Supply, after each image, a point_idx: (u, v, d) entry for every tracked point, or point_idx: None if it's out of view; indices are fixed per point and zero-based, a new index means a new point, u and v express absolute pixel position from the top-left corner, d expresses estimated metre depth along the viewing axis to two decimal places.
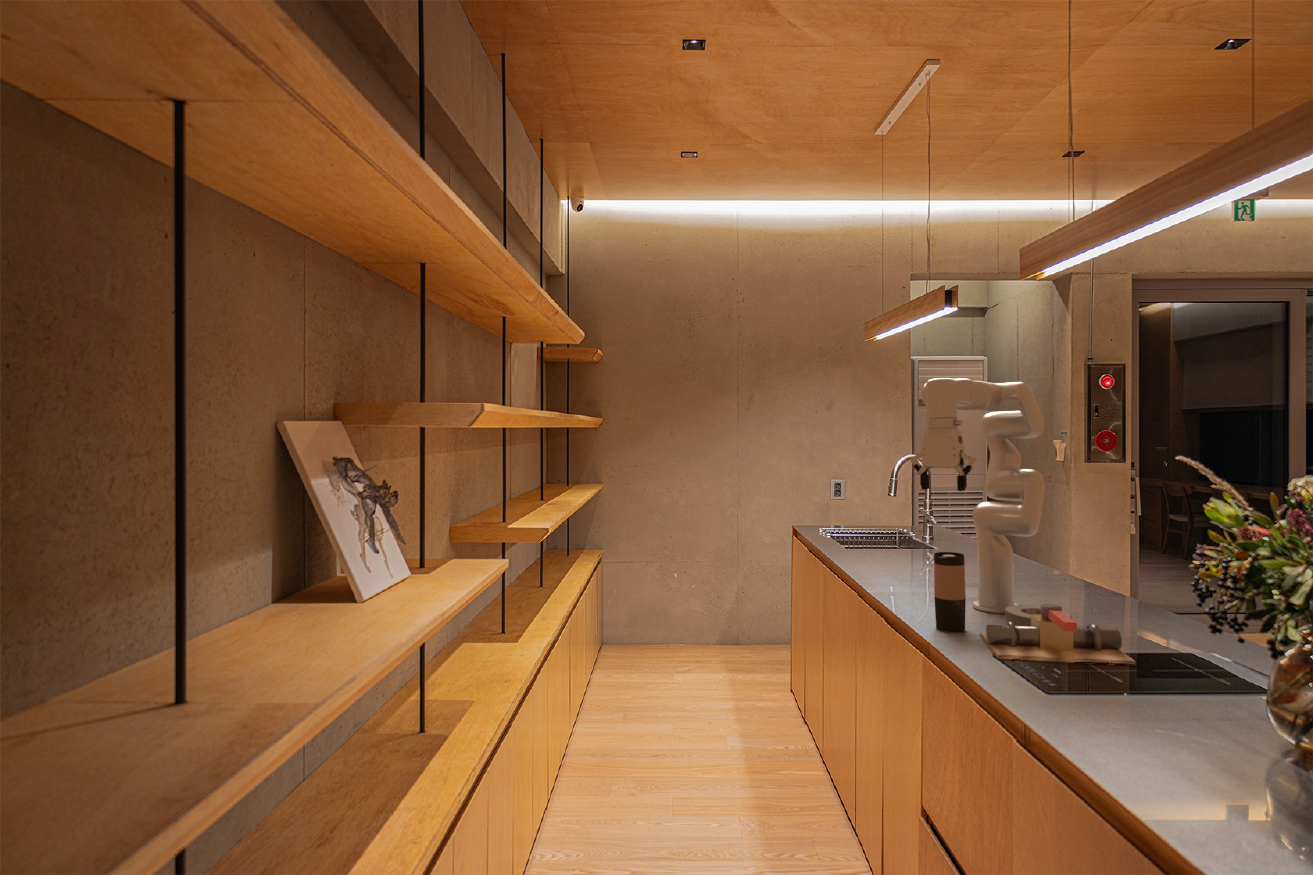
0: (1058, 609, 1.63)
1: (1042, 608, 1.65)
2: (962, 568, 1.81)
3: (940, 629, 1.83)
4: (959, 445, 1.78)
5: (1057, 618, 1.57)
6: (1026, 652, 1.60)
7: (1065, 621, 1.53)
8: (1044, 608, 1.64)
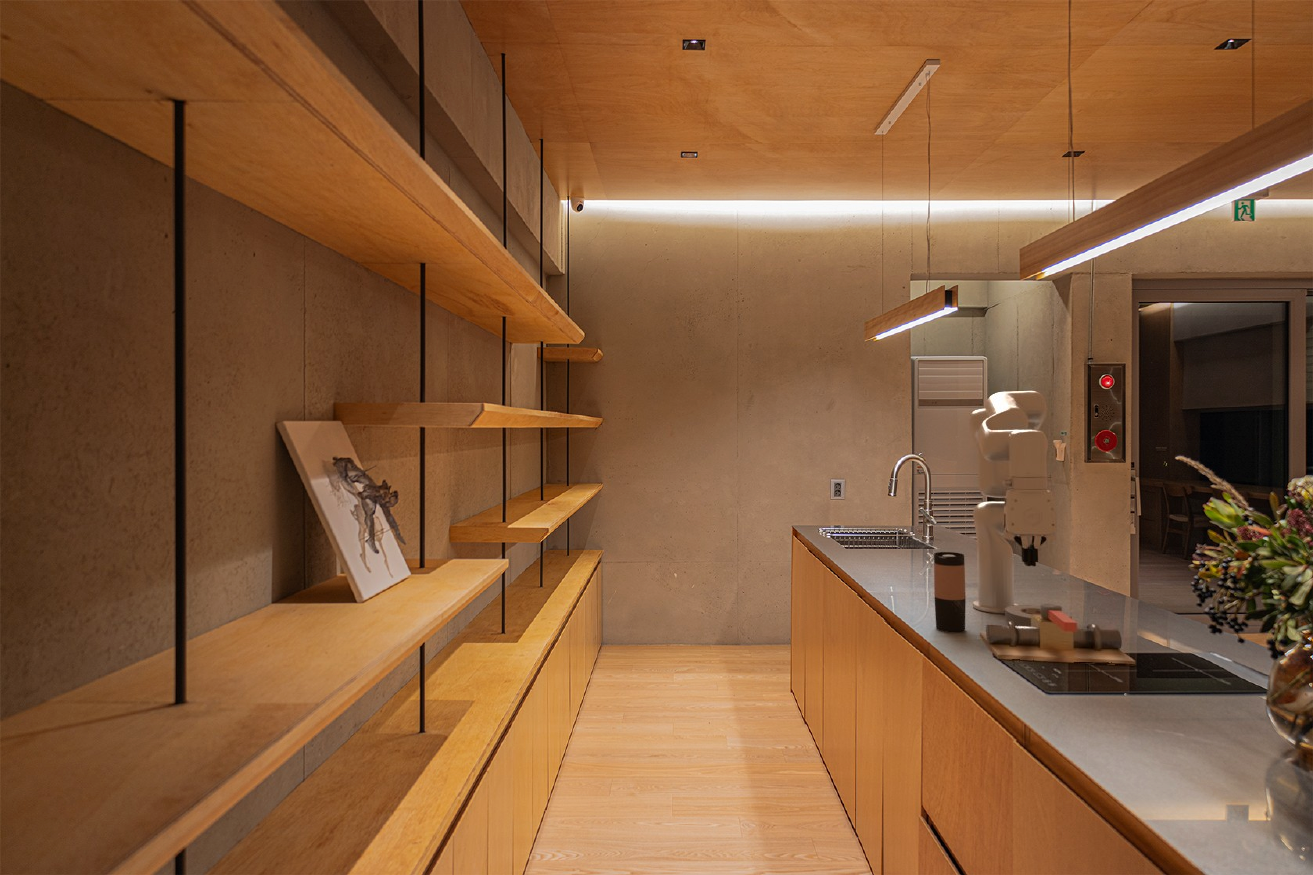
0: (1058, 609, 1.63)
1: (1042, 608, 1.65)
2: (962, 568, 1.81)
3: (940, 629, 1.83)
4: (1004, 507, 1.59)
5: (1057, 618, 1.57)
6: (1026, 652, 1.60)
7: (1065, 621, 1.53)
8: (1044, 608, 1.64)
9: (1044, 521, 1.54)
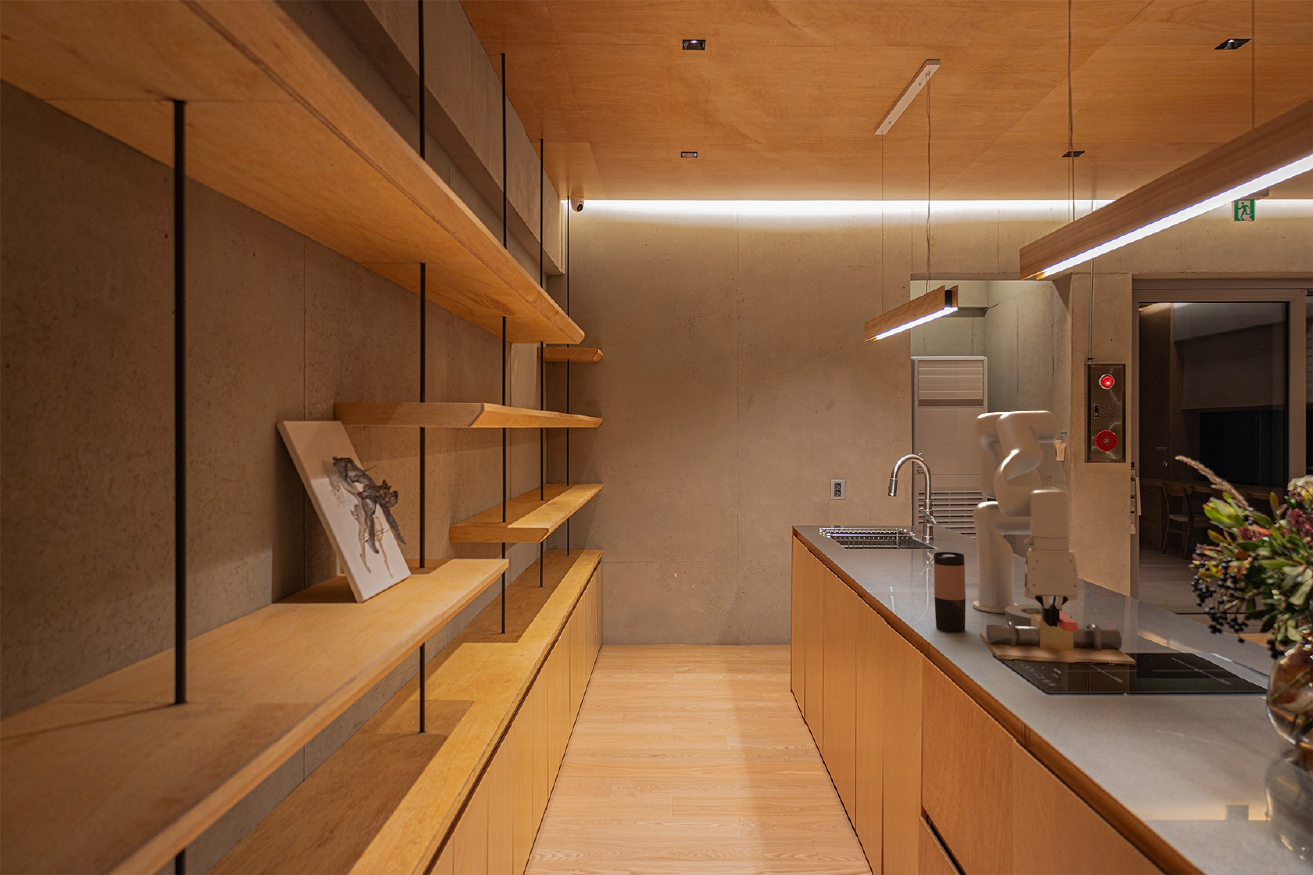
0: None
1: (1042, 608, 1.65)
2: (962, 568, 1.81)
3: (940, 629, 1.83)
4: (1025, 566, 1.58)
5: None
6: (1026, 652, 1.60)
7: (1065, 621, 1.53)
8: None
9: (1066, 582, 1.53)
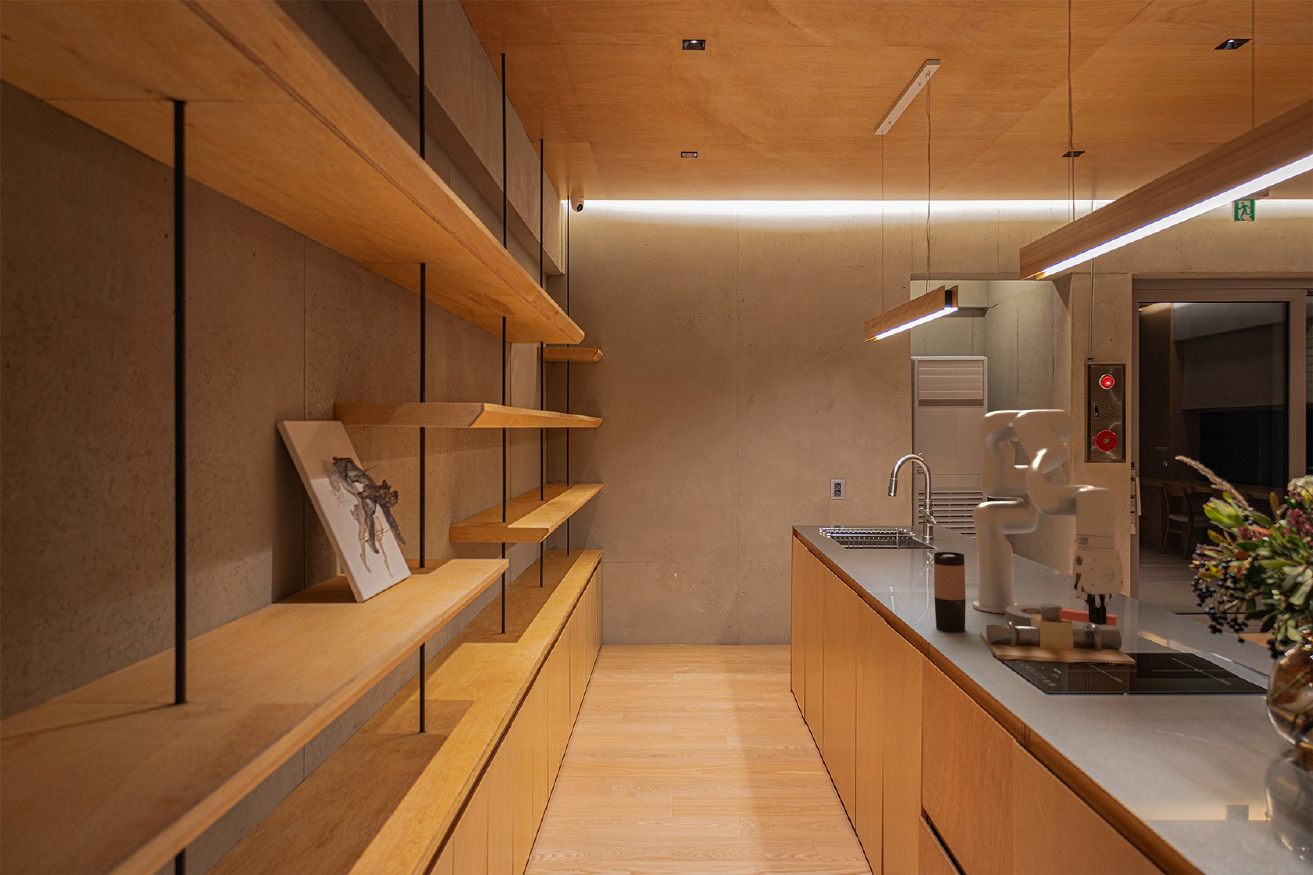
0: None
1: (1052, 610, 1.63)
2: (962, 568, 1.81)
3: (940, 629, 1.83)
4: (1076, 566, 1.56)
5: None
6: (1026, 652, 1.60)
7: (1111, 616, 1.56)
8: (1055, 609, 1.63)
9: (1116, 579, 1.54)
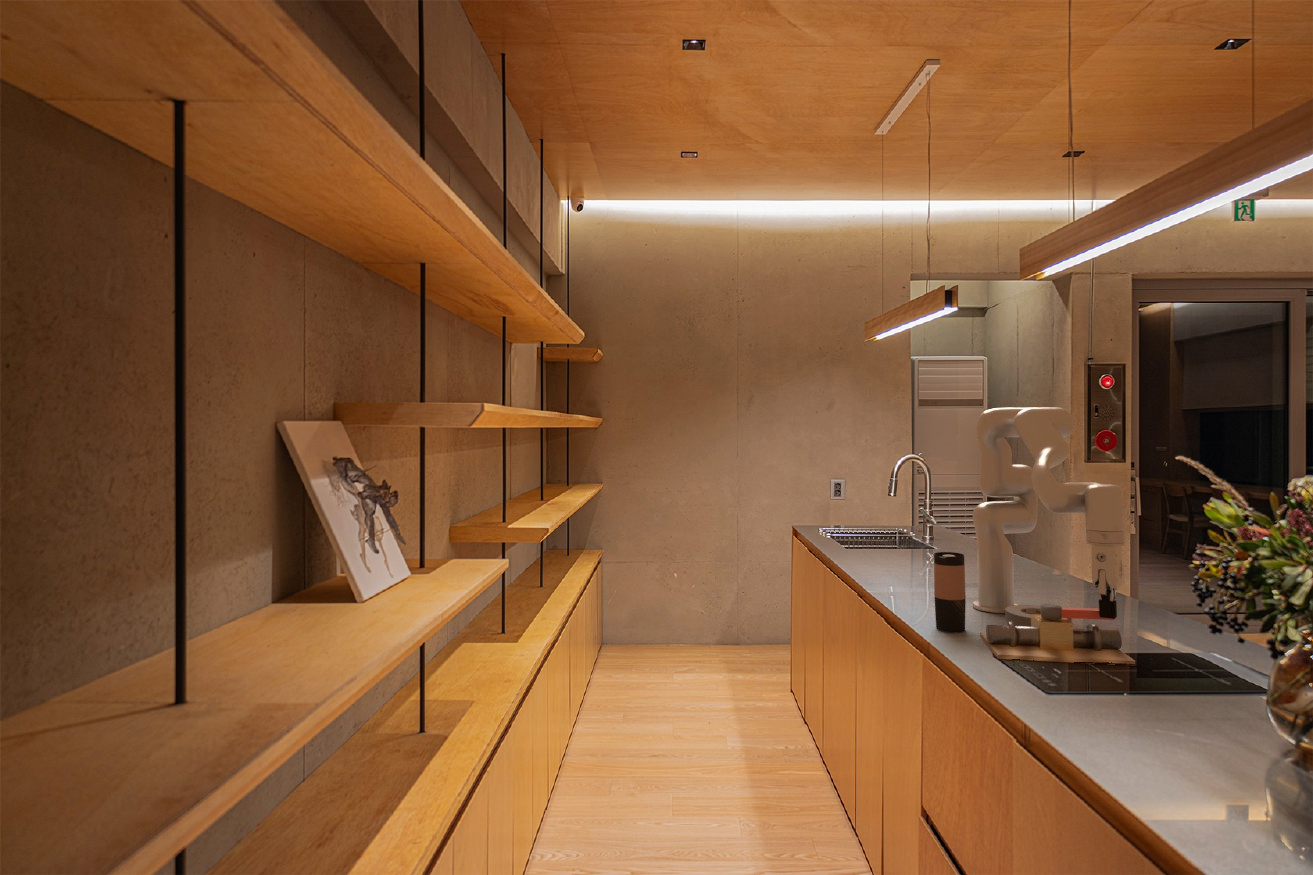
0: None
1: (1057, 610, 1.63)
2: (962, 568, 1.81)
3: (940, 629, 1.83)
4: (1097, 563, 1.57)
5: (1092, 612, 1.62)
6: (1026, 652, 1.60)
7: None
8: (1059, 609, 1.63)
9: (1122, 572, 1.60)
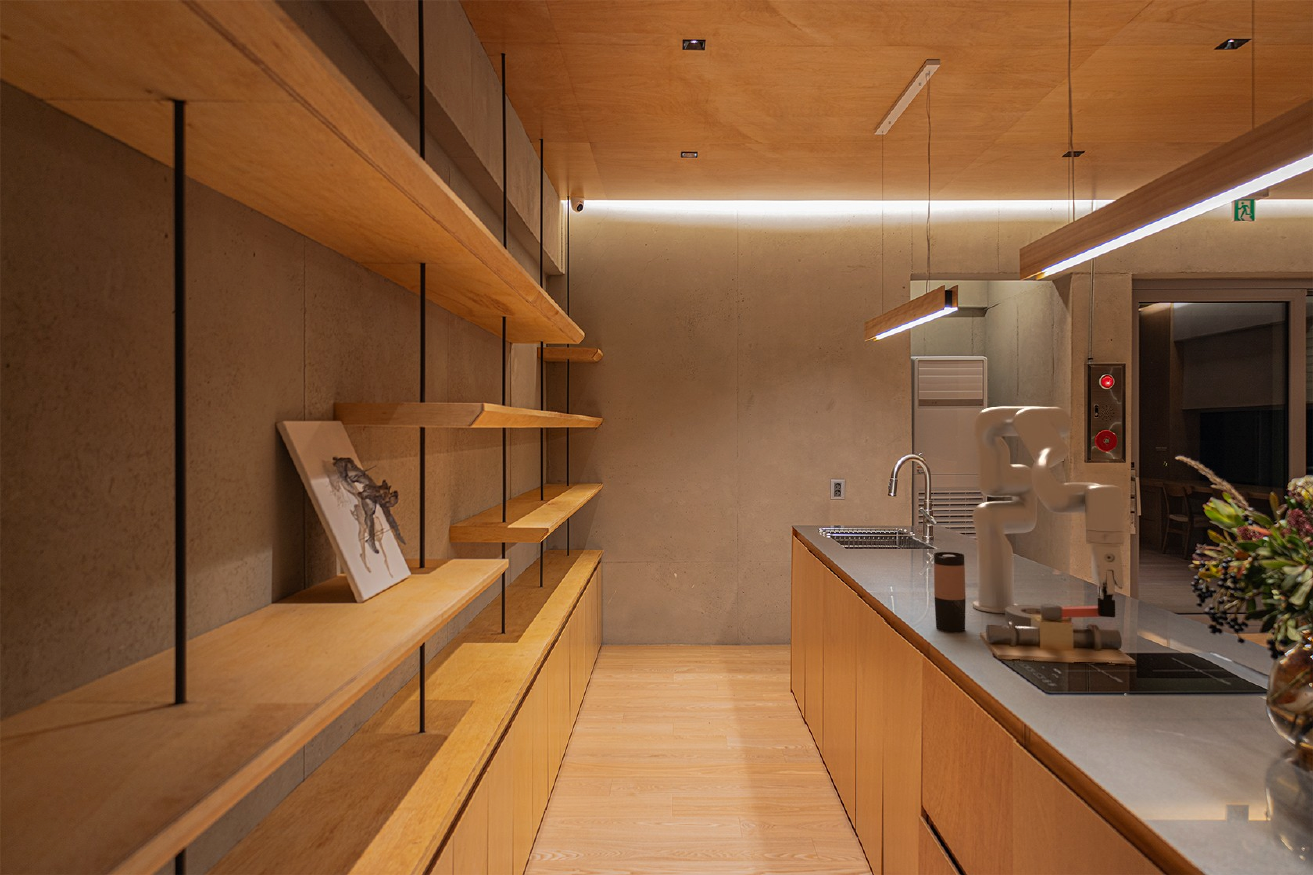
0: None
1: (1059, 610, 1.63)
2: (962, 568, 1.81)
3: (940, 629, 1.83)
4: (1105, 564, 1.58)
5: (1089, 610, 1.64)
6: (1026, 652, 1.60)
7: None
8: (1060, 609, 1.63)
9: None
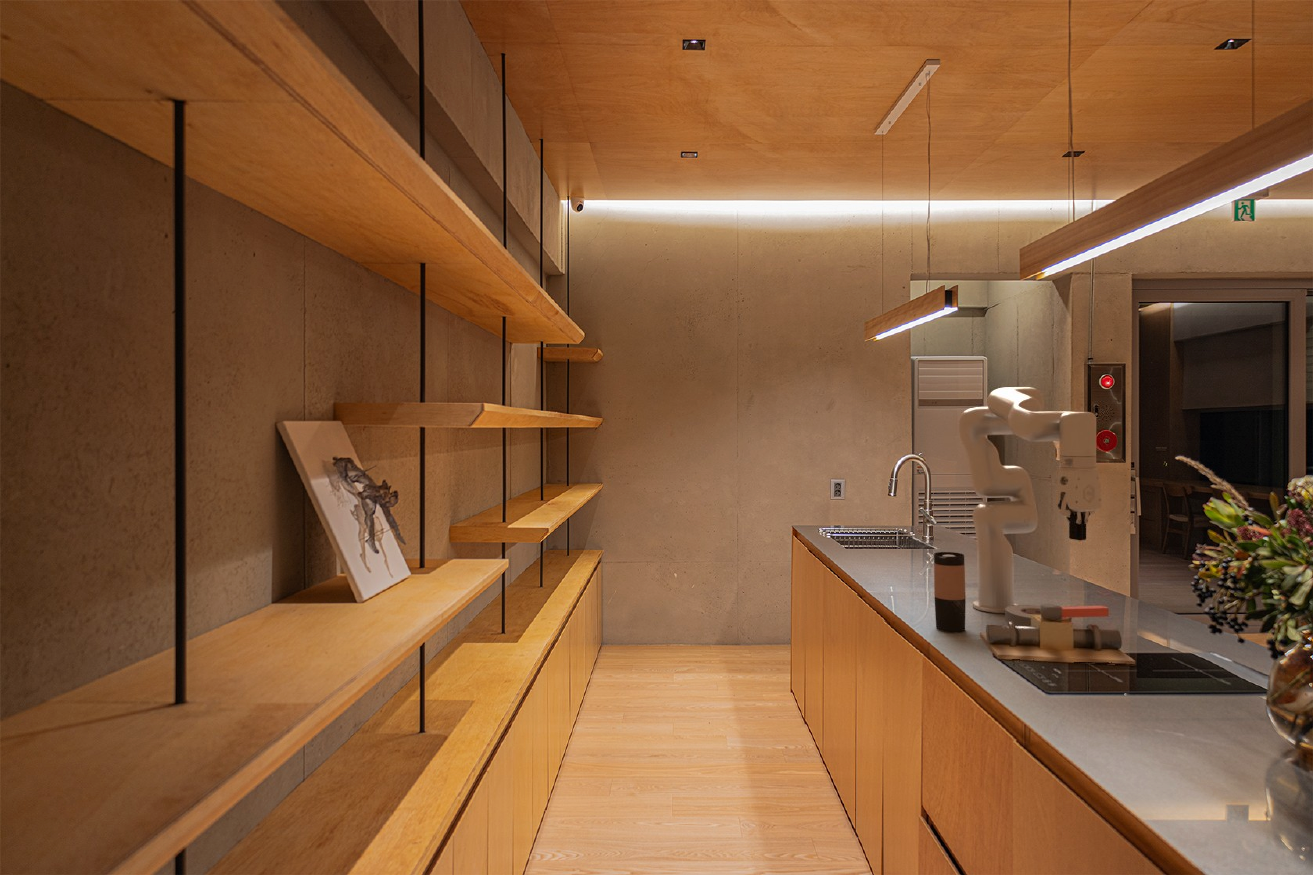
0: None
1: (1059, 610, 1.63)
2: (962, 568, 1.81)
3: (940, 629, 1.83)
4: (1060, 486, 1.65)
5: (1089, 610, 1.64)
6: (1026, 652, 1.60)
7: (1104, 607, 1.64)
8: (1060, 609, 1.63)
9: (1095, 497, 1.65)
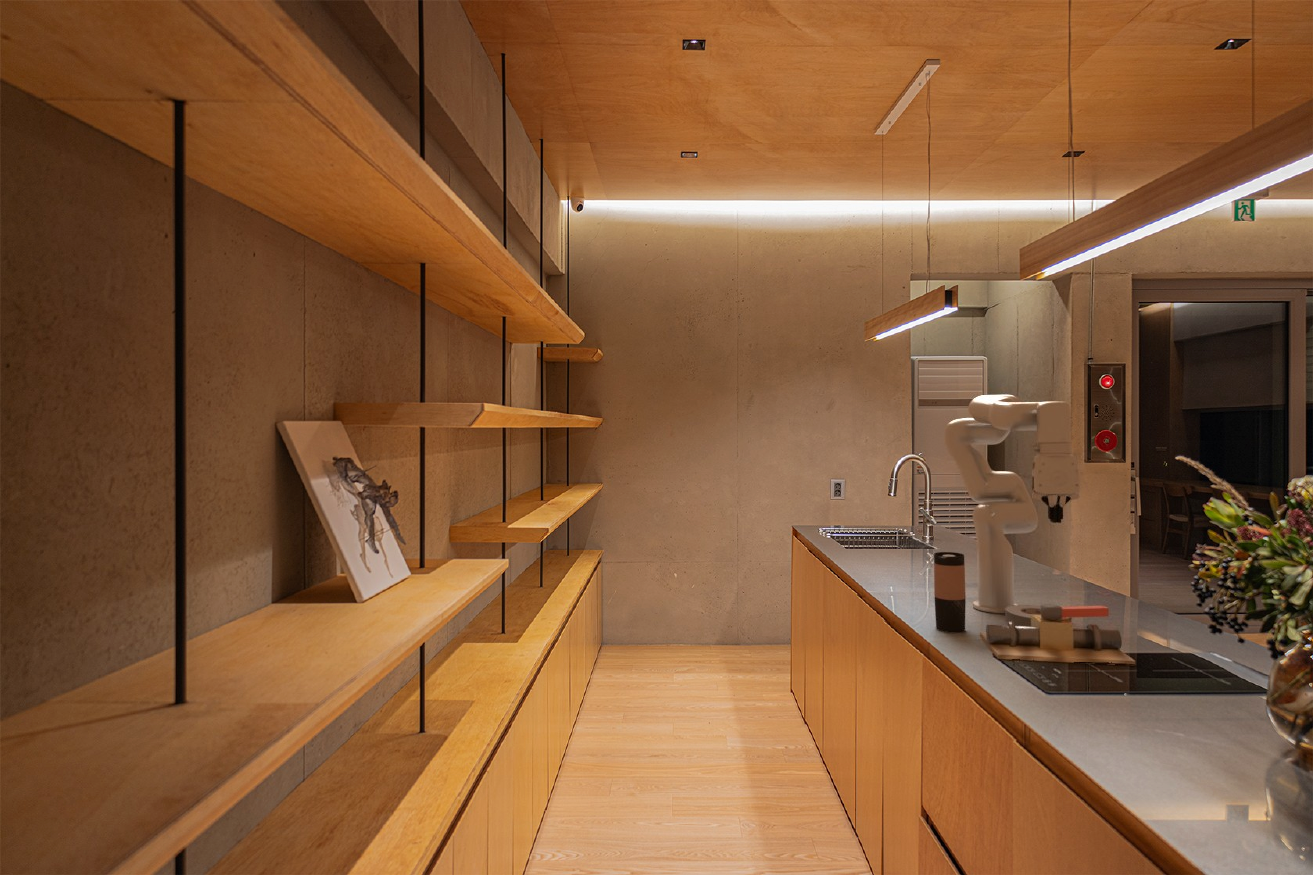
0: None
1: (1059, 610, 1.63)
2: (962, 568, 1.81)
3: (940, 629, 1.83)
4: (1032, 471, 1.77)
5: (1089, 610, 1.64)
6: (1026, 652, 1.60)
7: (1104, 607, 1.64)
8: (1060, 609, 1.63)
9: (1069, 482, 1.72)
